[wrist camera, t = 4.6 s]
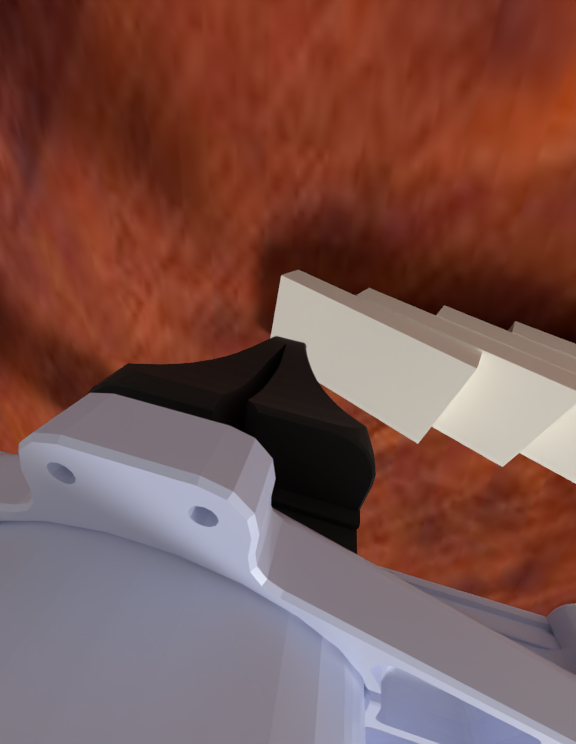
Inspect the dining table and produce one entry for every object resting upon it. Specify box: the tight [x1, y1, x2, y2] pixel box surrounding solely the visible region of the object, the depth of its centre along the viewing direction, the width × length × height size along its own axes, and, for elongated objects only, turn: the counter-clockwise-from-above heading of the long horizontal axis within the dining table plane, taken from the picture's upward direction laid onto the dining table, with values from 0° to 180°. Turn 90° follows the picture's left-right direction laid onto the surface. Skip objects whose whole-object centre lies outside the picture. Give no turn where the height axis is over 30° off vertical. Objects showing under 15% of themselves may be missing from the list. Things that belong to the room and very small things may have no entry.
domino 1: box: [271, 270, 482, 443], centre depth 15 cm, size 2×5×10 cm
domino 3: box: [436, 305, 576, 483], centre depth 15 cm, size 2×5×10 cm
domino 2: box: [356, 288, 576, 467], centre depth 15 cm, size 2×5×10 cm
